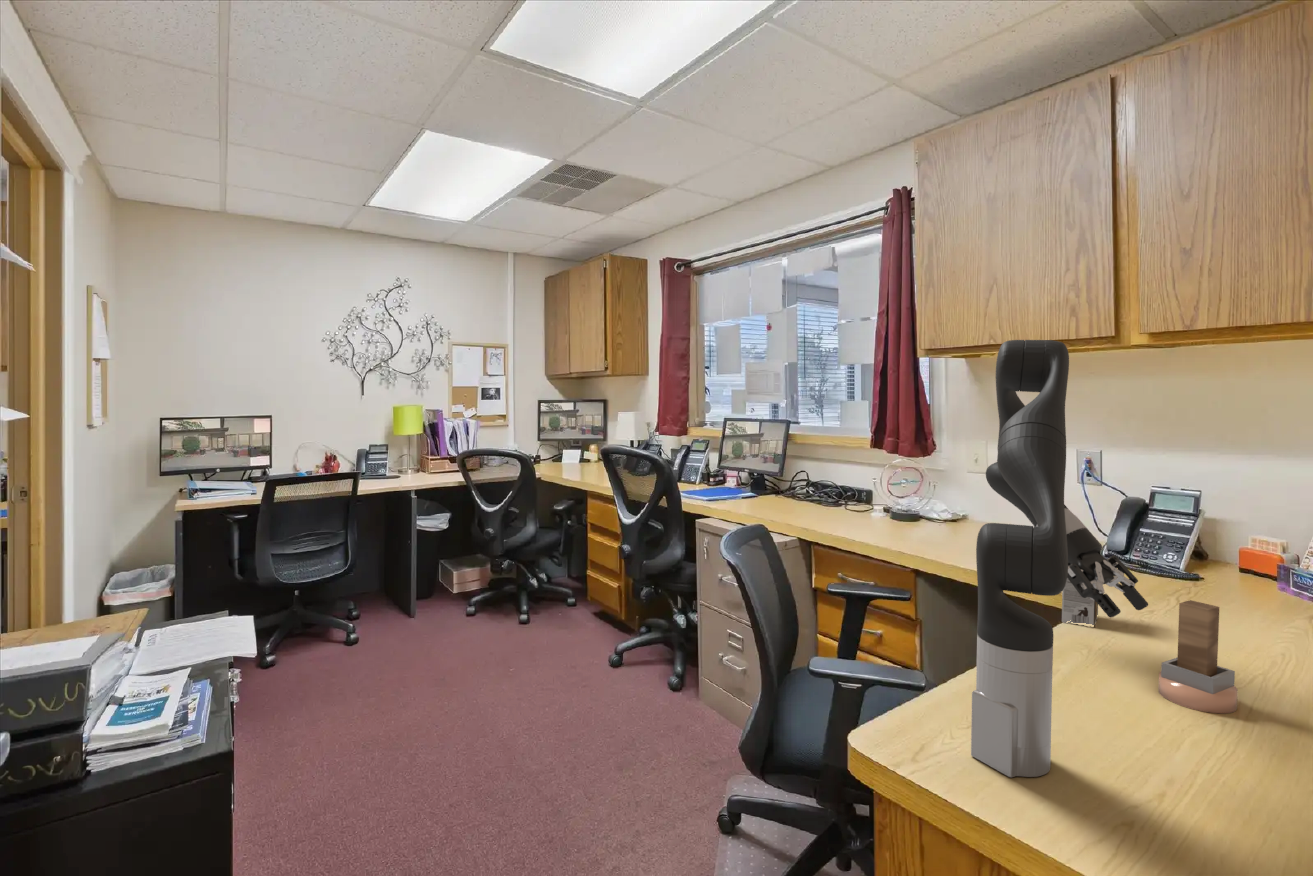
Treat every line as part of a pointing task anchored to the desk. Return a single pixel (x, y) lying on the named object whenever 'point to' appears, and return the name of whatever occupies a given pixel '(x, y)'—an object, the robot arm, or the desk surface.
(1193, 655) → the brown wooden block
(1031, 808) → the desk surface
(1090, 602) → the coffee box
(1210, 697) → the dish
